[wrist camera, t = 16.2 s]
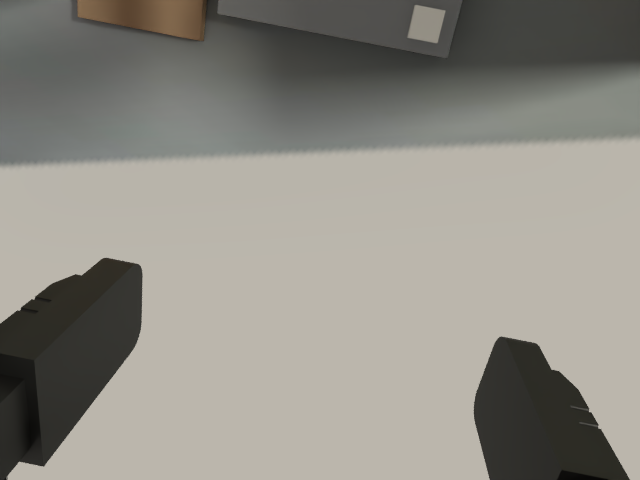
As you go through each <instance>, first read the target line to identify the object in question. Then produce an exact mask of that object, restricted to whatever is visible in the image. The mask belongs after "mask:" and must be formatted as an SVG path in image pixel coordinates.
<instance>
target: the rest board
mask: <svg viewBox="0 0 640 480" xmlns="http://www.w3.org/2000/svg"><path fill="white" fill-rule="evenodd" d="M206 5H207V0H78V17H81V18H86V19H91V20H96V21H101V22H106V23H111V24H117V25H122V26H127V27H132V28H137V29H142V30H147V31H153V32H158V33H163V34H168V35H173V36H178V37H183V38H188V39H194V40H199V41H204V30H205V18H206Z"/></svg>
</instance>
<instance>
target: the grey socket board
mask: <svg viewBox="0 0 640 480" xmlns="http://www.w3.org/2000/svg"><path fill="white" fill-rule="evenodd" d="M462 1H463V0H218V10H217V14H221V15H226V16H231V17H236V18H241V19H247V20H252V21H257V22H262V23H267V24H272V25H277V26H282V27H288V28H293V29H298V30H303V31H308V32H313V33H318V34H323V35H329V36H334V37H339V38H344V39H349V40H354V41H359V42H364V43H370V44H375V45H380V46H385V47H390V48H395V49H400V50H405V51H411V52H416V53H421V54H426V55H431V56H436V57H441V58H448V54H449V50H450V46H451V42H452V39H453V35H454V31H455V27H456V23H457V20H458V16H459V12H460V8H461V4H462Z"/></svg>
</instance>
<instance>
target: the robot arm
mask: <svg viewBox="0 0 640 480" xmlns="http://www.w3.org/2000/svg"><path fill="white" fill-rule="evenodd" d="M141 314H142V269H141V266H140V265H139V264H135V263H130V262H125V261H120V260H115V259H109V258H103V259H102V260H100V261H99V262H98V263H97V264H95V265H94V266H93V267H92V268H91V269H89V270H88V271H87V272H86V273H84V274H83V275H82V276H81V275H76V274H75V275H73V276H70V277H68V278H65V279H63V280H60V281H58V282H55V283H53V284H51V285H50V286H48V287H47V288H46V289H45V290H43V291H42V292H41V293H39V294H38V295H37V296H36V297H35V300H30V301H29V302H28V303H26V304H25V305H24V306H23V307H21V310H20V311H16V312H15V313H14V314H12V315H11V316H10V317H8V318H7V319H6V320H5V321H3V322H2V323H1V324H0V480H8V477H7V476H8V474H9V473H10V472H11V471H12V470H13V468H14V467H15V466H16V465H17V463H18V462H25V463H29V464H34V465H38V466H44V465H45V464H46V463H47V461H48V460H49V459H50V458H51V456H52V455H53V454H54V452H55V451H56V450H57V448H58V447H59V446H60V445H61V443H62V442H63V441H64V439H65V438H66V437H67V435H68V434H69V433H70V431H71V430H72V429H73V428H74V426H75V425H76V424H77V422H78V421H79V420H80V418H81V417H82V416H83V415H84V413H85V412H86V410H87V409H88V408H89V407H90V405H91V404H92V403H93V401H94V400H95V399H96V398H97V396H98V395H99V394H100V392H101V391H102V390H103V388H104V387H105V386H106V384H107V383H108V382H109V380H110V379H111V378H112V377H113V375H114V374H115V373H116V371H117V370H118V369H119V367H120V366H121V365H122V364H123V362H124V360H125V359H126V358H127V357H128V356H129V354H130V353H131V352H132V350H133V349H134V347H135V345H136V343H137V340H138V337H139V334H140V330H141V317H142V316H141ZM474 419H475V424H476V428H477V432H478V435H479V439H480V443H481V447H482V451H483V455H484V459H485V462H486V466H487V470H488V474H489V478H490V480H630V479H629V478H628V476H627V474H626V472H625V471H624V469H623V467H622V465H621V464H620V462H619V460H618V458H617V457H616V455H615V453H614V451H613V450H612V448H611V446H610V444H609V443H608V441H607V439H606V437H605V436H604V434H603V432H602V431H601V429H598V423H597V422H596V420H595V418H594V416H593V415H592V413H590V412H589V408H588V406H587V404H586V402H585V401H584V399H583V397H582V396H581V394H580V392H579V390H578V389H577V388H576V387H575V386H574V385H573V384H572V383H571V382H570V381H569V380H567V379H566V377H564V376H563V375H562V374H561V373H560V372H559V371H555V370H551V368H550V366H549V364H548V362H547V360H546V358H545V357H544V355H543V353H542V351H541V349H540V347H539V346H538V345H537V344H536V343H532V342H527V341H521V340H516V339H512V338H506V337H499V338H498V339H497V341H496V342H495V344H494V347H493V349H492V352H491V355H490V357H489V360H488V363H487V365H486V368H485V371H484V374H483V376H482V379H481V381H480V384H479V387H478V390H477V393H476V396H475V402H474Z"/></svg>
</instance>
